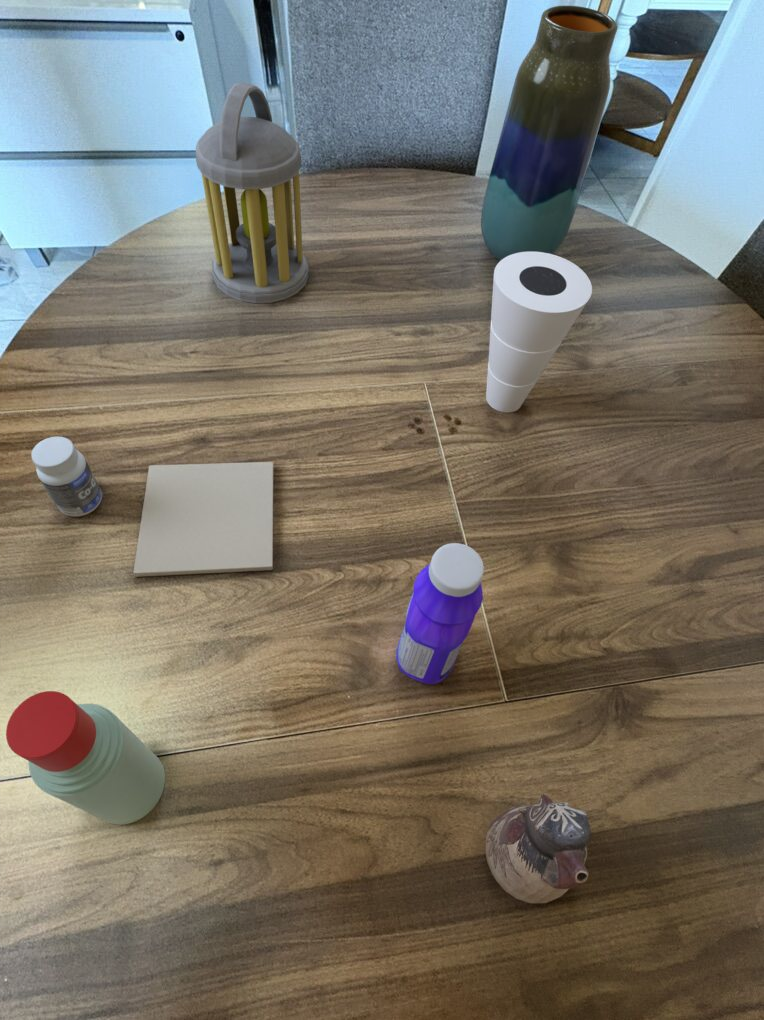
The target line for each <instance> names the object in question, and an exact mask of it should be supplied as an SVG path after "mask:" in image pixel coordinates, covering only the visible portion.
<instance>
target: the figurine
mask: <svg viewBox="0 0 764 1020" xmlns="http://www.w3.org/2000/svg"><path fill="white" fill-rule="evenodd" d="M591 829H592V828H591V825H590V823H589V820H588V814H587V812H586V811H585V810H583V809H580V808H577V807H573V806H570V803H568V802H567V801H561V802H555V801H553V800H552V799H551V797H549V795H547V794H541V795H540V800H539V801H538V802H537V803H535V804H533V805H515V806H511V807H510V808H509V809H507V810H505V811H503V812H502V813H501V814H499V815H498V816H496V817H495V818H494V819H492V820H491V821H490V823H489V825H488V829H487V831H486V836H485V858H486V862H487V865H488V867H489V870H490V873H491V875H492V877H493V878H494V879H495V881H496V882H497V884H498V885H499V886H500V887H501V889H503V890H504V891H505V893H507V894H509V895H510V896H512V897H513V898H514V899H516V900H519V901H521V902H525V903H527V904H547V903H549V902H552V901H554V900H557V899H558V898H560V897H562V896H564V894H566V893H567V892H568V891H569V890H570V889H575V888H576V889H577V887H579V886H580V885H581V884H584V883H585V882H586V881H587V880H588V877H589V871H588V870H587V867H586V866H585V864H586V862H587V857H588V843H589V842H590V838H591V835H592V830H591Z"/></svg>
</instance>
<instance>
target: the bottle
mask: <svg viewBox="0 0 764 1020" xmlns="http://www.w3.org/2000/svg"><path fill="white" fill-rule="evenodd" d="M484 573H485V567H484V562H483V559H482V557H481V556H480V555H479V553H478V552H477V551H476V550H475V549H473V548H472V547H470V546H469V545H466V544H463V543H458V542H452V543H447V544H444V545H442V546H440V547H439V548H438V549H436V551H435V552H433V554H432V557H431V559H430V563H429V564H427V565H426V566H425V567H424V568H423V569H421V570H420V572H419V573H418V574H417V575H416V578H415V580H414V583H413V592H412V594H411V597H410V599H409V602H408V605H407V610H406V616H405V622H404V626H403V629H402V632H401V635H400V638H399V640H398V644H397V647H396V663H397V666H398V668H399V670H400V672H402V674H404V675H405V676H406V677H407V678H410V679H412V680H414V681H417V682H420V683H422V684H426V685H435V684H439V683H441V682H442V681H444V680H445V679H446V678H447V677H448V676H449V674H450V673H451V671H452V670H453V668H454V665H455V663H456V660H457V659H458V654H459V652H460V651H461V648H462V646H463V643H464V641H465V640H466V638H467V637H468V634H469V632H470V630H471V629H472V626H473V623H474V621H475V617H476V615H477V613H478V612H479V610H480V608H481V606H482V604H483V600H484V595H483V594H484V593H483V592H484V591H483V587H482V583H481V582H482V579H483V577H484Z"/></svg>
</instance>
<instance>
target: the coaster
mask: <svg viewBox="0 0 764 1020" xmlns="http://www.w3.org/2000/svg"><path fill="white" fill-rule="evenodd" d="M274 466H275V465H274V461H254V462H253V461H252V462H222V463H220V462H218V463H217V462H216V463H187V464H186V463H185V464H184V463H182V464H181V463H179V464H153V465H152V464H151V465H148V472H147V476H146V477H147V478H146V483H145V484H146V485H145V490H144V498H143V505H142V511H141V518H140V524H139V525H140V526H139V530H138V531H139V533H138V538H137V544H136V545H137V546H136V553H135V559H134V565H133V571H132V574H133V576H134V577H135V578H137V577H139V578H140V577H141V578H142V577H157V576H159V577H161V576H177V575H178V576H179V575H200V574H221V573H222V574H223V573H238V572H239V573H241V572H242V573H243V572H260V571H263V572H264V571H273V570H274V508H275V507H274V503H275V499H274V498H275V495H274V494H275V493H274V491H275V489H274V488H275V486H274V484H275V483H274V482H275V481H274V480H275V478H274V477H275V476H274V475H275V470H274V469H275V467H274Z"/></svg>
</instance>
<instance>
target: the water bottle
mask: <svg viewBox="0 0 764 1020" xmlns="http://www.w3.org/2000/svg"><path fill="white" fill-rule="evenodd" d="M77 705H78V706H79V707H80V708H82V709H83V710H84V711H85V712H86V713H87V714H88V715H89V716H90V717H91V718H92V719H93V721H94V723H95V726H96V738H95V742H94V745H93V747H92V749H91V751H90V752H89V754H88V755H87V756H86V758H85V759H84V760H83V761H81V762H80V763H79V764H77V765H76V766H74V767H72V768H70V769H68V770H65V771H60V772H51V771H47V770H44V769H42V768H40V767H39V766H37V765H35V764H33V763H31V762H30V761H28V760H27V762H28V763H27V764H28V771H29V774H30V777H31V779H32V781H33V782H34V784H35V785H36V787H38V788H39V789H40V790H41V791H43V792H44V793H45V794H47V795H50V796H52V797H54V798H56V799H59V800H61V801H62V802H64V803H67V804H69V805H71V806H73V807H75V808H77V809H79V810H81V811H83V812H86V813H88V814H90V815H92V816H94V817H96V818H98V819H100V820H102V821H104V822H107V823H109V824H112V825H119V826H120V825H121V826H123V825H128V824H132V823H135V822H138V821H140V820H142V819H143V818H145V817H146V816H147V815H148V814H149V813H150V812H152V811H153V809H154V808H155V807H156V806H157V804H158V803H159V801H160V799H161V797H162V795H163V793H164V789H165V784H166V773H165V769H164V765H163V762H162V761H161V759H160V758H159V757H158V756H157V755H156V754H155V753H154V752H153V751H152V750H151V749H150V748H149V747H148V746H147V745H146V744H145V743H144V742H143V741H142V740H141V739H140V738H139V737H138V736H137V735H136V734H135V733H134V732H133V731H132V730H131V729H130V728H129V727H128V726H126V724H125V723H124V722H123V721H122V720H120V718H119V717H118V716H117V715H116V714H114V712H112V711H111V710H110V709H108V708H107V707H105V706H103V705H99V704H96V703H95V704H94V703H80V704H77Z"/></svg>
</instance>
